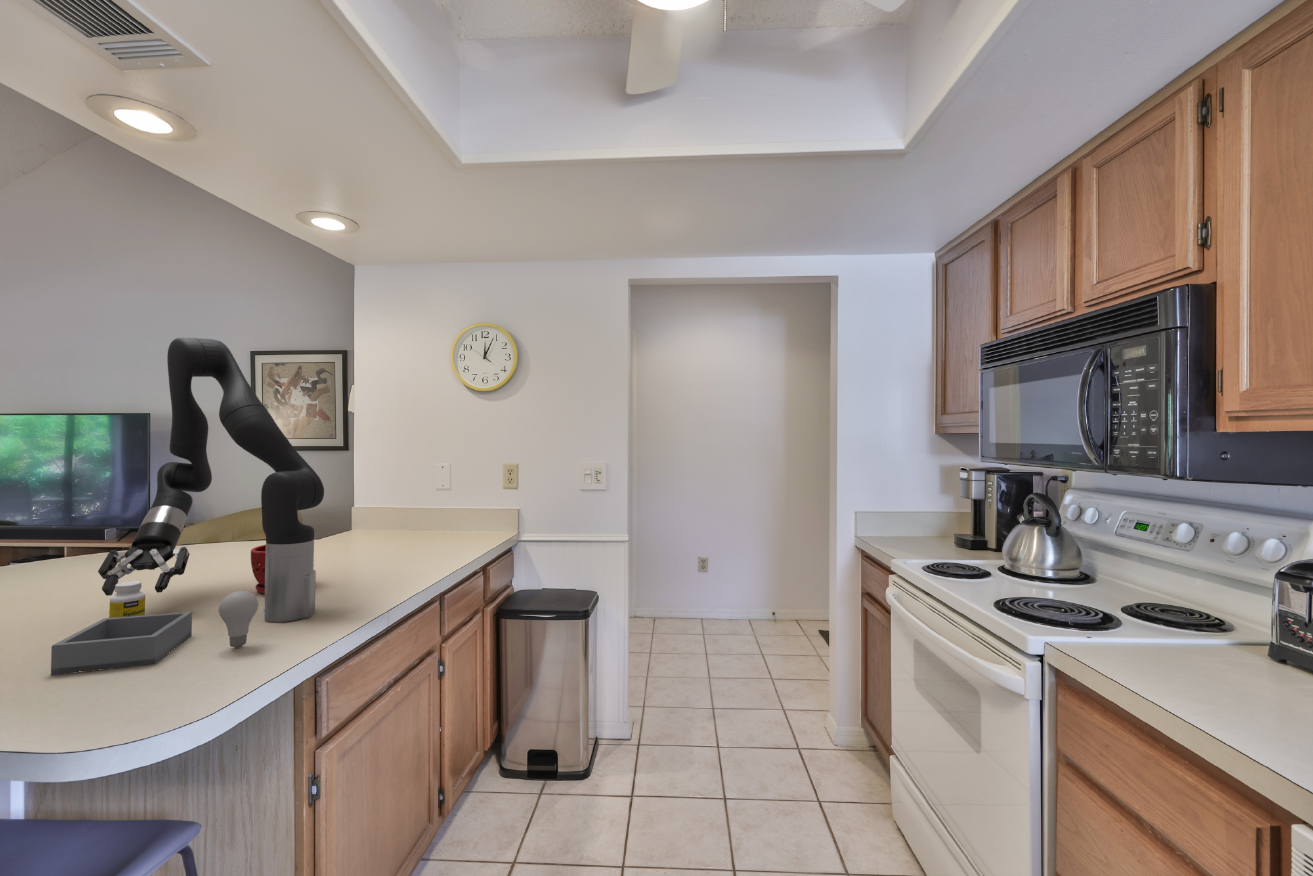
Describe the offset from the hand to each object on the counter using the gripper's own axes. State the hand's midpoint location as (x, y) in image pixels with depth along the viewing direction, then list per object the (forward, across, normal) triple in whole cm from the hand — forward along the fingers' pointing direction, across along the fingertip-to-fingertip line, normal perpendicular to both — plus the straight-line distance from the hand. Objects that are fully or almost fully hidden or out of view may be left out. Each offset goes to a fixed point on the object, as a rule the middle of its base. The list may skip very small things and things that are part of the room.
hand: (133, 592), depth 117 cm
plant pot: (-12, +21, +22) cm, 33 cm away
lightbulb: (+20, +25, -10) cm, 34 cm away
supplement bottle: (+7, 0, +4) cm, 8 cm away
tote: (+18, +7, -8) cm, 21 cm away
